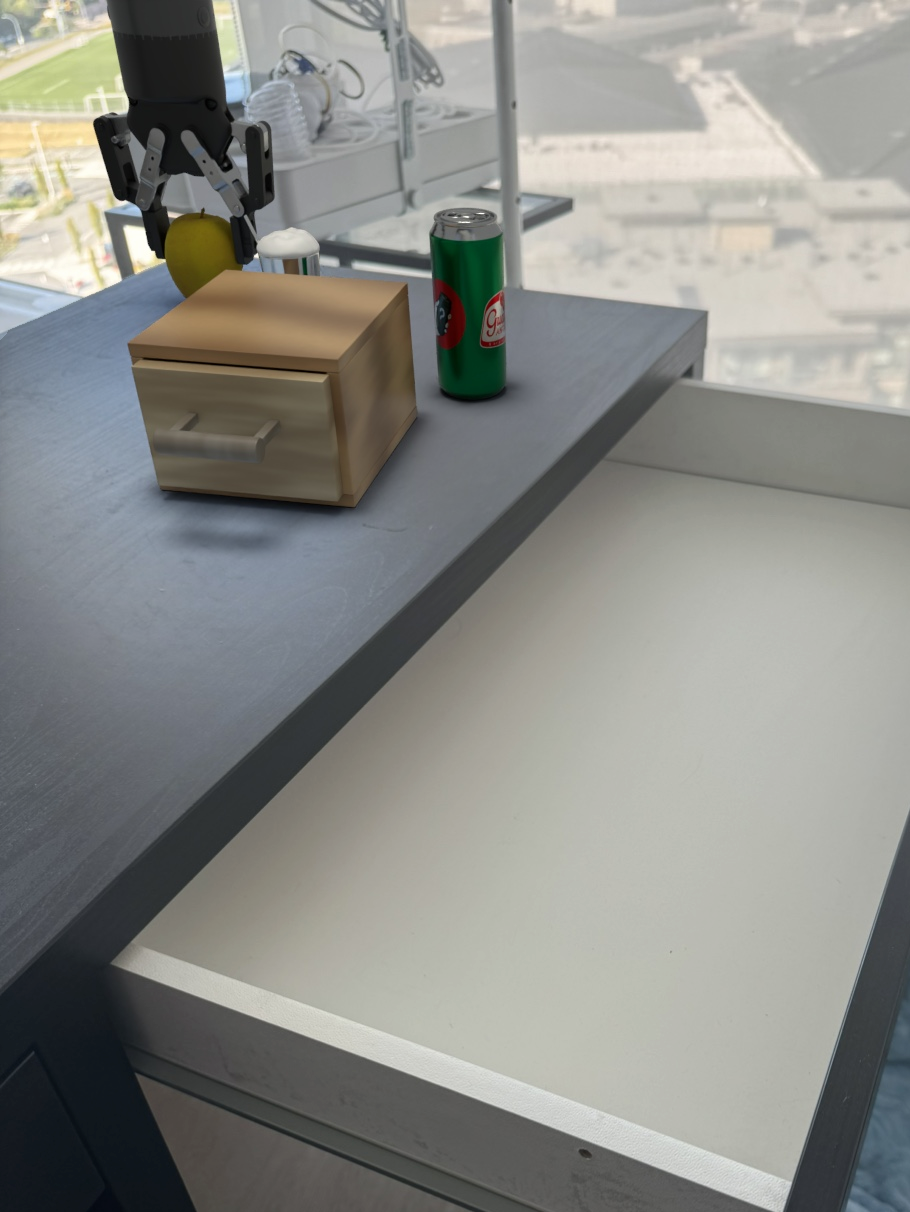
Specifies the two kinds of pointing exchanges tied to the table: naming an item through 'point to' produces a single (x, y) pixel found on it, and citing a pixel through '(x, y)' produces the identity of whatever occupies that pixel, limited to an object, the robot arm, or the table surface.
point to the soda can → (469, 302)
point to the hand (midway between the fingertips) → (205, 258)
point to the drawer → (240, 428)
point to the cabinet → (306, 353)
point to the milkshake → (288, 252)
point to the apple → (199, 250)
